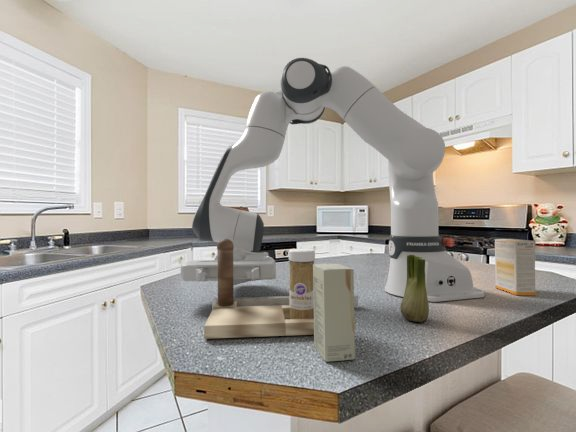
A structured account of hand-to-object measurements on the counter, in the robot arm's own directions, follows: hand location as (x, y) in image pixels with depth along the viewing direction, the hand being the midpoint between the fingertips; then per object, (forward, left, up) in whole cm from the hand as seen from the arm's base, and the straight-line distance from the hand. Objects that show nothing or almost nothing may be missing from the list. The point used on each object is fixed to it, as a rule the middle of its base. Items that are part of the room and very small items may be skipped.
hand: (226, 276), depth 62 cm
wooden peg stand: (-8, +6, -7) cm, 12 cm away
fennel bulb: (-35, +7, -8) cm, 36 cm away
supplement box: (-70, -11, -8) cm, 71 cm away
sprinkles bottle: (-14, +8, -8) cm, 18 cm away
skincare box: (-17, +19, -8) cm, 26 cm away
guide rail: (-12, -2, -8) cm, 14 cm away
